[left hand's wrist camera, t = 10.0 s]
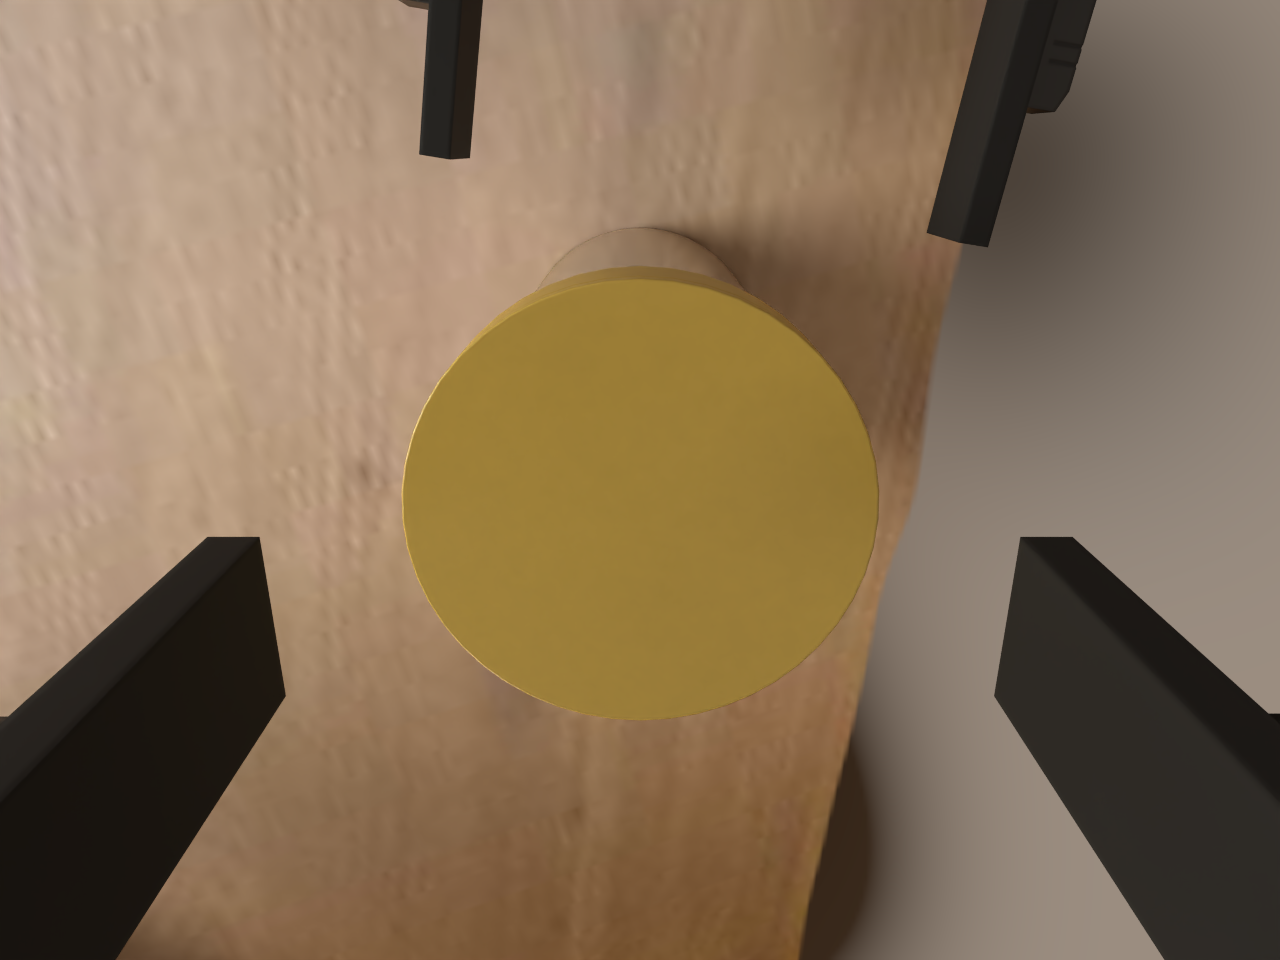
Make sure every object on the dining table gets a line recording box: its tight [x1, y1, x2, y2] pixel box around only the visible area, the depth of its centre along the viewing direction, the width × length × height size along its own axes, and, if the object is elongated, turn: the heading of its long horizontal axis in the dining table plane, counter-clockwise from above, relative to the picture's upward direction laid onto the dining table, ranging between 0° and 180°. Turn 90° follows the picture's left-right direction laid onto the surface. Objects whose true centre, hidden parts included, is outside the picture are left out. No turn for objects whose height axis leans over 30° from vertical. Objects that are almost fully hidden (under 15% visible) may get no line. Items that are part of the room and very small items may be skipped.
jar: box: [535, 228, 745, 292], centre depth 24 cm, size 8×8×15 cm
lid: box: [402, 266, 879, 720], centre depth 18 cm, size 9×9×2 cm
